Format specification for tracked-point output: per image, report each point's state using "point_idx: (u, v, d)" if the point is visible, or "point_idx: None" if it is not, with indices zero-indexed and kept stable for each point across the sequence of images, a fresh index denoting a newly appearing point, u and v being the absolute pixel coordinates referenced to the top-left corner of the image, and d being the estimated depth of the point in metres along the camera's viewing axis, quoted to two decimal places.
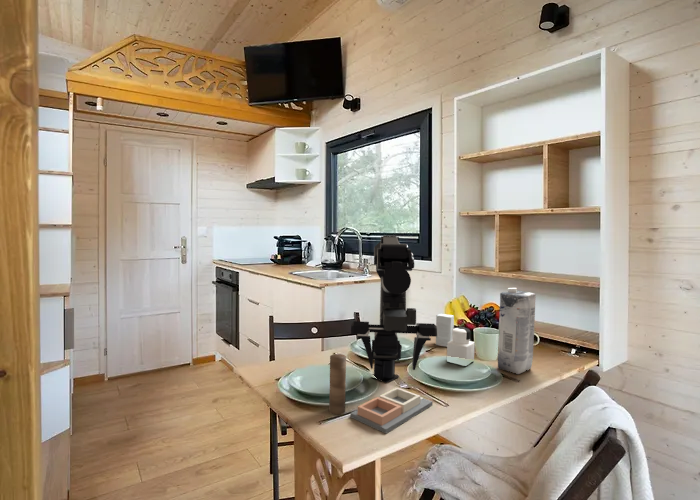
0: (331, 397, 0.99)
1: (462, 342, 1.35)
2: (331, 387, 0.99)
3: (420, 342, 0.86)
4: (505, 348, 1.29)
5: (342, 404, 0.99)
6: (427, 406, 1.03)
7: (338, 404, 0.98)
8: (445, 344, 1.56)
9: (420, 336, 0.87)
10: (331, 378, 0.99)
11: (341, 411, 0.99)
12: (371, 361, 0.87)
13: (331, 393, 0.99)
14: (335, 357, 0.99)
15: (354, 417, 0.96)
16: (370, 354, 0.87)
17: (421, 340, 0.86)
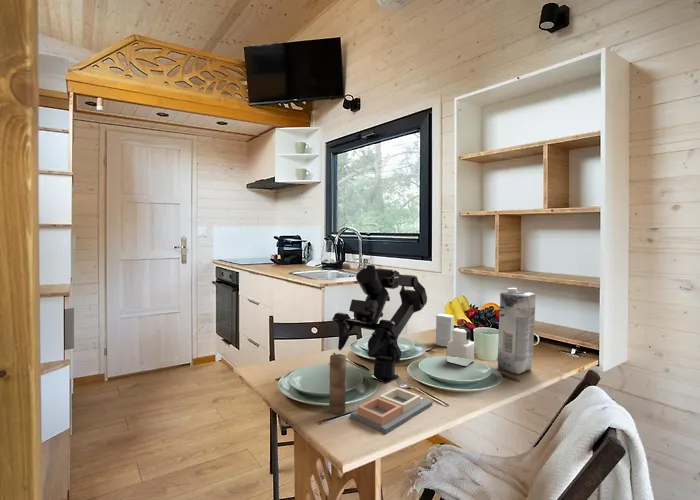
0: (331, 397, 0.99)
1: (462, 342, 1.35)
2: (331, 387, 0.99)
3: (378, 332, 1.05)
4: (505, 348, 1.29)
5: (342, 404, 0.99)
6: (427, 406, 1.03)
7: (338, 404, 0.98)
8: (445, 344, 1.56)
9: None
10: (331, 378, 0.99)
11: (341, 411, 0.99)
12: (340, 343, 1.09)
13: (331, 393, 0.99)
14: (335, 357, 0.99)
15: (354, 417, 0.96)
16: (341, 337, 1.09)
17: (378, 330, 1.05)
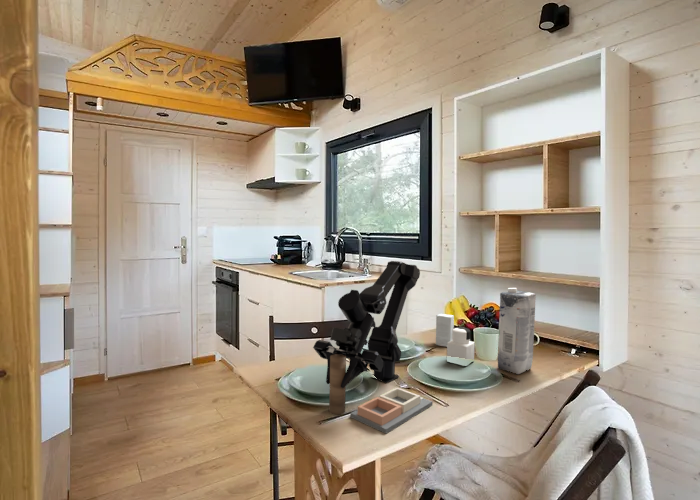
0: (331, 397, 0.99)
1: (462, 342, 1.35)
2: (331, 387, 0.99)
3: (352, 362, 0.99)
4: (505, 348, 1.29)
5: (342, 404, 0.99)
6: (427, 406, 1.03)
7: (338, 404, 0.98)
8: (445, 344, 1.56)
9: None
10: (331, 378, 0.99)
11: (341, 411, 0.99)
12: (328, 376, 1.00)
13: (331, 393, 0.99)
14: (335, 357, 0.99)
15: (354, 417, 0.96)
16: (329, 370, 1.01)
17: (352, 359, 0.99)
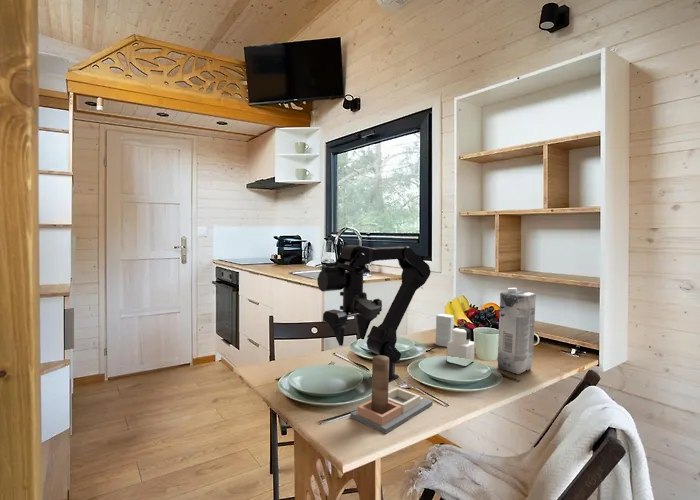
0: (377, 401, 0.95)
1: (462, 342, 1.35)
2: (377, 391, 0.95)
3: (371, 319, 1.18)
4: (505, 348, 1.29)
5: (387, 406, 0.96)
6: (427, 406, 1.03)
7: (385, 407, 0.95)
8: (445, 344, 1.56)
9: None
10: (376, 382, 0.94)
11: None
12: (342, 340, 1.11)
13: (377, 397, 0.95)
14: (379, 359, 0.95)
15: (354, 417, 0.96)
16: (343, 336, 1.11)
17: (372, 318, 1.17)
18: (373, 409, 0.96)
